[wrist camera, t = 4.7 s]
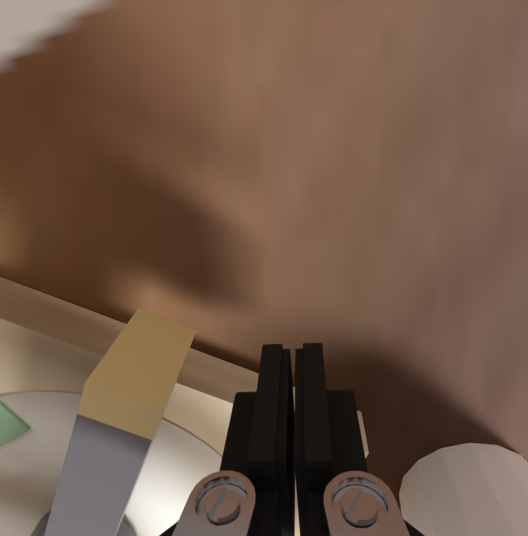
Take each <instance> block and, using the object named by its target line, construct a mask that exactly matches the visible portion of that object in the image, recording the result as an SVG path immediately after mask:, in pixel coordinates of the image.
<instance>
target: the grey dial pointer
mask: <svg viewBox="0 0 528 536" xmlns="http://www.w3.org/2000/svg"><path fill="white" fill-rule="evenodd" d="M196 331H197V330H194V329H192V328H189V327H186V326H184V325H181V324H178V323H176V322H173V321H171V320H168V319H165V318H163V317H160V316H157V315H155V314H152V313H149V312H147V311H144V310H142V309H139V308H138V309H137V311H136V312H135V314H134V315H133V316H132V318H131V319H130V321H129V322H128V323H127V325H126V326H125V328H124V329H123V330H122V332H121V333H120V334H119V336H118V337H117V339H116V340H115V341H114V343H113V344H112V346H111V347H110V348H109V350H108V351H107V353H106V354H105V355H104V357H103V358H102V359H101V361H100V362H99V364H98V365H97V366H96V368H95V369H94V371H93V372H92V373H91V375H90V376H89V378H88V379H87V380H86V382H85V385H84V389H83V393H82V396H81V400H80V404H79V408H78V411H77V416H76V420H75V423H74V427H73V431H72V434H71V438H70V442H69V446H68V449H67V453H66V457H65V460H64V464H63V468H62V472H61V475H60V479H59V483H58V486H57V490H56V494H55V497H54V501H53V505H52V509H51V511H49V512H48V513H46V514H45V515H44V516H43V517H42V518H41V519H40V521H39V522H38V524H37V526H36V527H35V529H34V531H33V532H32V534H31V536H137V535H136V533H135V532H134V531H133V530H132V529H131V528H130V527H129V526H128V525H127V524H126V523H124V522H123V521H122V520H123V517H124V514H125V512H126V509H127V507H128V504H129V502H130V499H131V497H132V494H133V492H134V489H135V486H136V484H137V481H138V479H139V476H140V474H141V471H142V469H143V466H144V463H145V461H146V458H147V456H148V453H149V451H150V448H151V446H152V443H153V441H154V438H155V435H156V433H157V430H158V428H159V425H160V423H161V420H162V418H163V415H164V413H165V410H166V407H167V405H168V402H169V400H170V397H171V395H172V392H173V390H174V387H175V385H176V382H177V379H178V377H179V374H180V372H181V369H182V367H183V364H184V362H185V359H186V357H187V354H188V351H189V349H190V346H191V344H192V341H193V339H194V336H195V334H196Z"/></svg>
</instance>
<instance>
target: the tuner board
mask: <svg viewBox="0 0 528 536" xmlns="http://www.w3.org/2000/svg"><path fill="white" fill-rule="evenodd" d="M126 325H127V324H125V323H123V322H120V321H117V320H115V319H112V318H109V317H107V316H104V315H101V314H99V313H96V312H93V311H91V310H88V309H85V308H83V307H80V306H77V305H75V304H72V303H69V302H67V301H64V300H61V299H59V298H56V297H53V296H51V295H48V294H45V293H43V292H40V291H37V290H35V289H32V288H29V287H27V286H24V285H21V284H19V283H16V282H13V281H11V280H8V279H5V278H3V277H0V536H31V534H32V532H33V531H34V529H35V527H36V526H37V524H38V522H39V521H40V519H41V518H42V517H43V516H44V515H45V514H46V513H48V512H49V511H51V509H52V505H53V501H54V497H55V494H56V490H57V486H58V483H59V479H60V475H61V472H62V468H63V464H64V460H65V457H66V453H67V449H68V446H69V442H70V438H71V434H72V431H73V427H74V423H75V420H76V416H77V411H78V408H79V404H80V400H81V396H82V393H83V389H84V385H85V382H86V380H87V379H88V378H89V376H90V375H91V373H92V372H93V371H94V369H95V368H96V366H97V365H98V364H99V362H100V361H101V359H102V358H103V357H104V355H105V354H106V353H107V351H108V350H109V348H110V347H111V346H112V344H113V343H114V341H115V340H116V339H117V337H118V336H119V334H120V333H121V332H122V330H123V329H124V328H125V326H126ZM258 376H259V373H256V372H253V371H251V370H248V369H245V368H243V367H240V366H237V365H235V364H232V363H229V362H227V361H224V360H221V359H219V358H216V357H213V356H211V355H208V354H205V353H203V352H200V351H197V350H195V349H192V348H190V349H189V351H188V354H187V357H186V359H185V362H184V364H183V367H182V369H181V372H180V374H179V377H178V379H177V382H176V385H175V387H174V390H173V392H172V395H171V397H170V400H169V402H168V405H167V407H166V410H165V413H164V415H163V418H162V420H161V423H160V425H159V428H158V430H157V433H156V435H155V438H154V441H153V443H152V446H151V448H150V451H149V453H148V456H147V458H146V461H145V463H144V466H143V469H142V471H141V474H140V476H139V479H138V481H137V484H136V486H135V489H134V492H133V494H132V497H131V499H130V502H129V504H128V507H127V509H126V512H125V514H124V517H123V520H122V521H123V522H124V523H126V524H127V525H128V526H129V527H130V528H131V529H132V530H133V531H134V532H135V533H136V535H137V536H159V535H160V534H162V533H163V532H164V531H166V530H167V529H168V528H170V527H171V526H172V525H174V524H175V523H176V522H177V521H179V518H180V516H181V514H182V511H183V509H184V507H185V504H186V502H187V500H188V497H189V495H190V493H191V492H192V490H193V488H194V487H195V485H196V484H197V483H198V482H199V481H201V480H202V479H203V478H204V477H206V476H208V475H210V474H212V473H215V472H219V470H220V465H221V461H222V456H223V451H224V446H225V441H226V436H227V432H228V427H229V422H230V417H231V412H232V407H233V403H234V398H235V394H236V393H237V392H256V390H257V383H258ZM293 397H294V410H295V387H293ZM357 414H358V419H359V425H360V431H361V436H362V442H363V448H364V453H365V458H366V457H367V455H368V454H369V451H368V446H367V440H366V435H365V430H364V424H363V419H362V414H361V412H360V411H358V410H357ZM295 536H300V528H299V515H298V503H297V490H296V478H295Z"/></svg>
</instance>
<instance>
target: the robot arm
mask: <svg viewBox="0 0 528 536" xmlns="http://www.w3.org/2000/svg"><path fill="white" fill-rule="evenodd" d="M295 478H296V490H297V503H298V515H299V528H300V536H425V535H423V534H422V533H421V532H420V531H418V530H417V529H416V528H414V527H413V526H412V525H411V524H409V523H408V522H407V521H405V520H404V519H403V517H402V514H401V512H400V509H399V507H398V504H397V502H396V499H395V497H394V495H393V493H392V492H391V490H390V488H389V487H388V486H387V485H386V484H385V483H384V482H383V481H382V480H381V479H379V478H377V477H376V476H374V475H372V474H369V473H368V470H367V465H366V459H365V453H364V448H363V442H362V436H361V431H360V425H359V419H358V414H357V408H356V402H355V397H354V392H353V390H326V382H325V371H324V359H323V348H322V343H303V349H296V357H295V410H294V397H293V383H292V370H291V357H290V349H283V346H282V344H268V345H263V348H262V355H261V362H260V369H259V376H258V383H257V390H256V392H237V393H236V394H235V398H234V403H233V407H232V412H231V417H230V422H229V427H228V432H227V436H226V441H225V446H224V451H223V456H222V461H221V465H220V470H219V472H215V473H212V474H210V475H208V476H206V477H204V478H203V479H202V480H201V481H199V482H198V483H197V484H196V485H195V487H194V488H193V490H192V492H191V493H190V495H189V497H188V500H187V502H186V504H185V507H184V509H183V511H182V514H181V516H180V518H179V521H177V522H176V523H175V524H174V525H172V526H171V527H170V528H168V529H167V530H166V531H164V532H163V533H162V534H160V535H159V536H295Z"/></svg>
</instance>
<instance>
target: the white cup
mask: <svg viewBox="0 0 528 536" xmlns="http://www.w3.org/2000/svg"><path fill="white" fill-rule="evenodd" d="M399 499H400V507H401V514H402V517H403V519H404V520H405V521H407V522H408V523H409V524H411V525H412V526H413V527H414V528H416V529H417V530H418V531H420V532H421V533H422V534H423V535H425V536H528V462H527V461H526V460H525V459H524V458H523V457H522V456H521V455H520V454H517V453H515V452H513V451H510V450H508V449H505V448H503V447H501V446H498V445H491V444H478V443H465V444H460V445H455V446H450V447H445V448H440V449H438V450H436V451H435V452H433V453H431V454H429V455H427V456H425V457H423V458H421V459H420V460H418V461H417V462H416V463H415V464H414V465H413V466H412V467H411V469H410V470H409V471H408V472H407V473H406V474H405V475H404V477H403V479H402V484H401V488H400V492H399Z"/></svg>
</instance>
